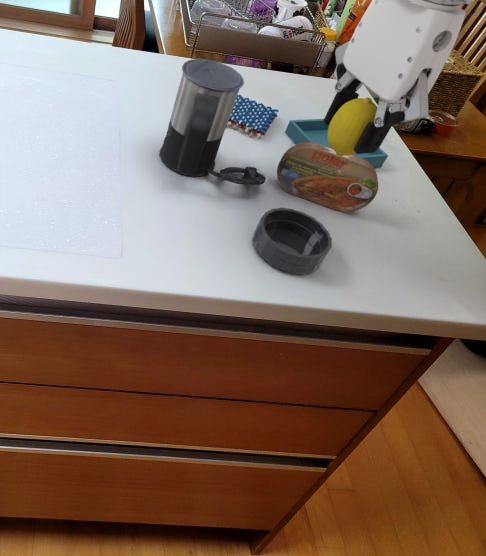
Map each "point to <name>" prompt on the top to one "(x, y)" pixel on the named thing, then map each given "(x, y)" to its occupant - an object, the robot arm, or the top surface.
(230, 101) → the milk frother
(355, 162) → the tin
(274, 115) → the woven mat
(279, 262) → the bowl
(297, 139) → the tray
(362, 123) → the lemon
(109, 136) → the top surface
